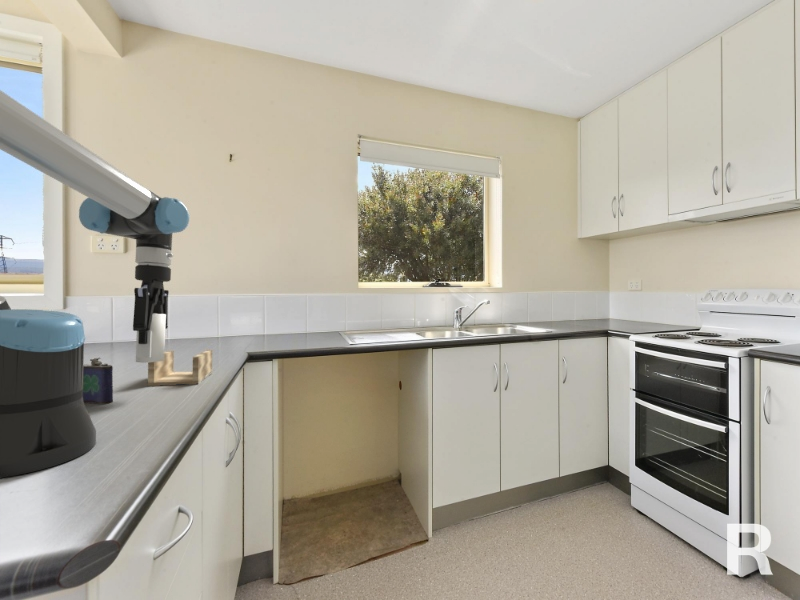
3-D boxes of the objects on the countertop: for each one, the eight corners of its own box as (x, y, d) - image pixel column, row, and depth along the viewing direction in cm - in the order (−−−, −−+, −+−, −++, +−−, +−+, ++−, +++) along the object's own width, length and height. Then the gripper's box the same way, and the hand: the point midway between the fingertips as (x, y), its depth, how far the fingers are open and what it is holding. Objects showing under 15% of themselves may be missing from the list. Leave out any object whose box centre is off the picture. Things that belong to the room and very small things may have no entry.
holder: (198, 384, 102) (198, 357, 102) (147, 386, 99) (148, 358, 99) (212, 373, 116) (212, 349, 116) (168, 375, 113) (168, 350, 112)
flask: (72, 402, 83) (72, 358, 83) (84, 399, 86) (85, 356, 86) (105, 404, 82) (106, 359, 82) (117, 401, 85) (118, 357, 85)
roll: (158, 362, 87) (160, 313, 87) (130, 362, 85) (132, 313, 86) (168, 358, 93) (169, 313, 93) (142, 359, 91) (144, 312, 91)
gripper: (153, 262, 81) (149, 360, 81) (183, 269, 99) (180, 350, 99) (116, 260, 79) (112, 361, 79) (153, 268, 98) (150, 350, 97)
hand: (150, 355), depth 89 cm, fingers closed on roll, 6 cm apart
